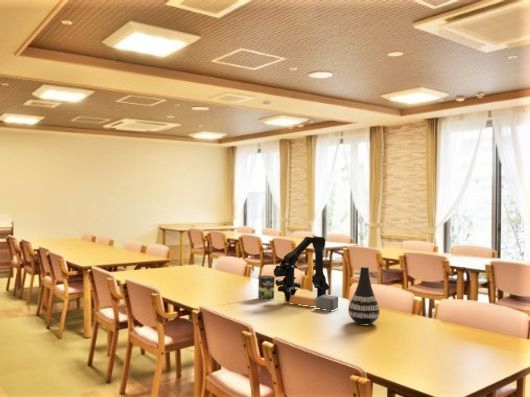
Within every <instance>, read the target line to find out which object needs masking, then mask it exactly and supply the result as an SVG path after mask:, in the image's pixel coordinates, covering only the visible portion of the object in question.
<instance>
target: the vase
mask: <svg viewBox="0 0 530 397" xmlns="http://www.w3.org/2000/svg"><path fill="white" fill-rule="evenodd" d="M359 271H360V273H359V276H358V277H359V278H358V282H357V285H356V289H355V291H354V294H353V296H352V298H351V300H350V302H349V304H348V315H349V317H350V319H351V320H352V321H354V322H355V323H356V324H357V323H359V324H370V325H371V324H374V323H375V322H377V320H378V319H379V316H380V312H381V311H380V305H379V303H378V301H377V298H376V296H375V293H374V290H373V286H372V283H371V282H372V281H371V276H370V269H369V267H368V266H361V267H360V270H359ZM359 324H358V325H359Z"/></svg>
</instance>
